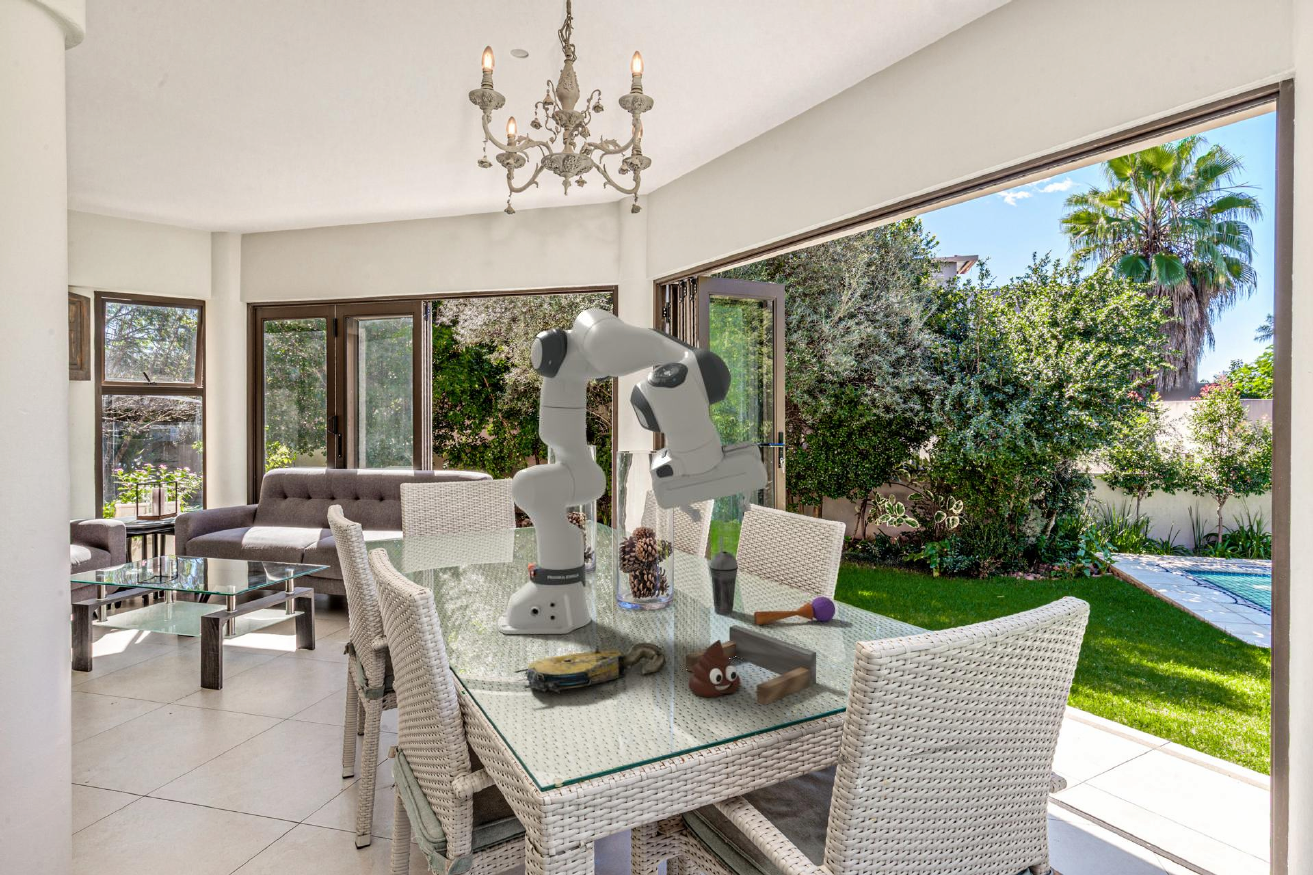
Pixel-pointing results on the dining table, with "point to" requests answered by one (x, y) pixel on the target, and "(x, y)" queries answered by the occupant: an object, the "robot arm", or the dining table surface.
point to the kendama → (800, 612)
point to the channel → (768, 662)
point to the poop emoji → (714, 673)
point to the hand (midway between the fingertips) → (721, 514)
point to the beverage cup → (723, 580)
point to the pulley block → (590, 667)
